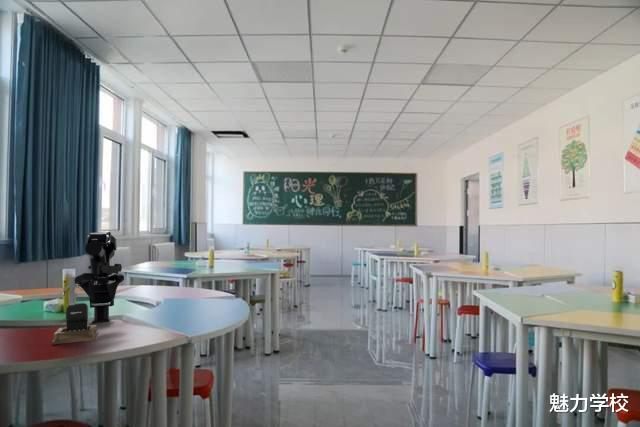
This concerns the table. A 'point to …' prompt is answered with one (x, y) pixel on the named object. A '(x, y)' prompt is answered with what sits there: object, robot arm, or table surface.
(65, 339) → the wooden tray
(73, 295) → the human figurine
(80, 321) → the battery
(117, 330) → the table surface
